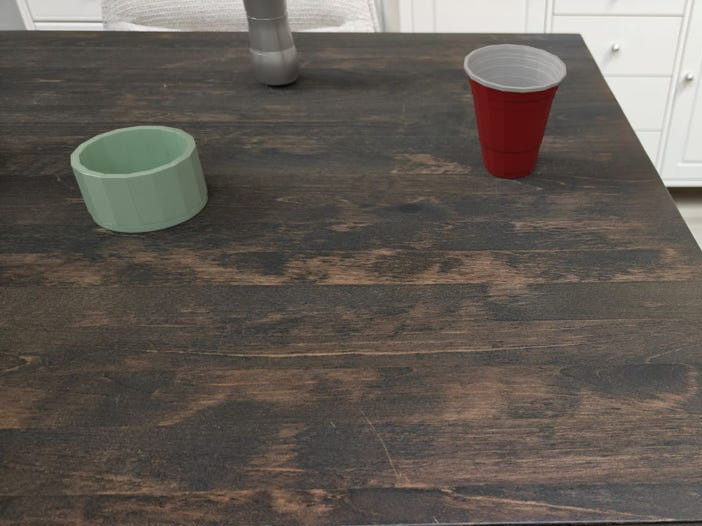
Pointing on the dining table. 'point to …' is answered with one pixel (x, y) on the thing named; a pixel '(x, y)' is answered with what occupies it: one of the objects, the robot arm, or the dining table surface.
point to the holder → (140, 178)
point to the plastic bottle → (271, 42)
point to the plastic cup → (512, 103)
